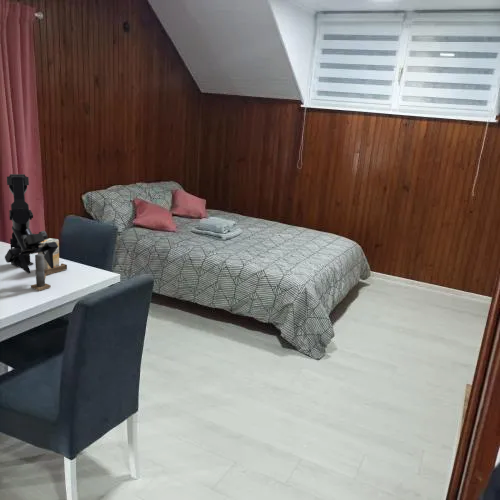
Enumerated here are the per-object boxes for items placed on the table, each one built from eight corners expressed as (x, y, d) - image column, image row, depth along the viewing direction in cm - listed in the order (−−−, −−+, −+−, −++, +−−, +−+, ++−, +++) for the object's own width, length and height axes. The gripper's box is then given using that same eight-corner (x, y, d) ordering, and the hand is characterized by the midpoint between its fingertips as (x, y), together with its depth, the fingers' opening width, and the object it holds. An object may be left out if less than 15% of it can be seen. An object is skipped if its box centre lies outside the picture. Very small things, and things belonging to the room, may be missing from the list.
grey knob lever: (13, 280, 184) (12, 249, 181) (62, 267, 203) (61, 239, 200) (39, 290, 177) (37, 258, 173) (87, 276, 196) (86, 246, 192)
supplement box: (48, 274, 195) (47, 243, 192) (37, 272, 196) (36, 242, 193) (60, 268, 203) (59, 239, 199) (50, 266, 204) (49, 237, 200)
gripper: (6, 228, 169) (24, 264, 166) (54, 221, 183) (72, 255, 180) (-3, 244, 175) (14, 280, 172) (44, 236, 190) (60, 269, 187)
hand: (41, 270), depth 178 cm, fingers open, 9 cm apart
